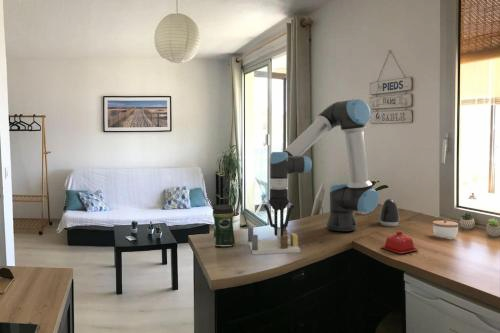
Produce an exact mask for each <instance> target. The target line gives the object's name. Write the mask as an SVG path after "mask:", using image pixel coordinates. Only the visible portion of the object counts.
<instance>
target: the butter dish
mask: <svg viewBox="0 0 500 333" xmlns="http://www.w3.org/2000/svg"><path fill="white" fill-rule="evenodd" d="M380 248H382V249H384V250H388V251H391V252H394V253H397V254H406V253H411V252H415V251H419V248H418V247H415V245H414V240H413V238H412V237H410V236H408V235H406V234H403V231H402V230H396V232H395V234H391V235H388V236H387V238H386V240H385V244H384V245H381V246H380Z"/></svg>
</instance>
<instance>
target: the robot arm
mask: <svg viewBox="0 0 500 333" xmlns="http://www.w3.org/2000/svg"><path fill="white" fill-rule="evenodd" d="M370 118H371V109H370V106H369V105H368V104H367V103H366V102H365V101H364V100H363V99H360V98H359V99H357V98H356V99H349V100H343V101H336V102H333V103H331V104H329V106H327V107H326V108H324V110H322V111H321V112H320V113H319V114H318V115H316V117H315V121H313V122H312V123H311V124H310V125H309V126H308V127H307V128H306V129H305V130H304V131H303V132H302V133H301V134H300V135H298V136H297V138H296V139H295V140H294V141H292V142H291V143H290V144H289V145H288V146H287V147H286V148H285V149H284V150H283V151H272V152H270V156H269V176H270V177H269V187H270V189H269V200H268V202H267V203H264V205H263V206H264V207H263V208H264V209H265V210H266V214H267V217H268V221H269V225H270V227H271V228H273V230H274V233H273V234H274V236H276V239H277V244H281V236H283V228H284V227H286V228H287V227H288V226H289V225H288V224H289V221H290V217H291V213H292V210H293V209H294V207H295V206H294V204H293V203H291V202H290V201H289V197H288V196H289V195H288V194H289V192H288V186H289V185H288V184H289V183H288V178H289V175H290V174H293V175H295V174H308V173H310V172H311V169H313V168H312V167H313V162H312V159H311V158H310V157H309V156H307V155H305V156H304V153H306V152H307V151H309V149H310V148H311V147H312V146H313V145H314V144H315V143H316V142H317V141H319V139H320V138H322V136H323V135H325V133H327V132H328V133H329V132H330V131H331V130H333V129H334V128H336V127H340V131H342V132H343V133H344V138H345V147H346V154H347V155H346V156H347V165H348V176H349V183H340V184H331V186H330V187H329V215H328V218H327V220H326V221H327V222H326V229H328V230H331V231H335V232H350V231H351V232H352V231H355V230H357V226H358V225H357V224H358V223H357V221H356V218H355V216H354V212H359V213H361V214H362V213H366V214H369V213H372V212H373V211H375V209H376V208H377V206H378V205H379V202H380V196H379V193H378V191H377V190H375V189H374V187H373V182H371V181H370V180H369V172H368V163H367V162H368V161H367V154H366V144H365V132H364V131H365V129H366V128H367V123H368V122H369V120H370ZM270 206H271V209H273V210H274V211H273V214H274V218H273V219H272V214H271V211H270ZM286 208H287V212H286V217H285V220H284V212H285V211H284V210H285V209H286ZM278 212H280V213H279V219H280V220H279V227H278Z"/></svg>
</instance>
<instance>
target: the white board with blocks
mask: <svg viewBox="0 0 500 333" xmlns="http://www.w3.org/2000/svg"><path fill="white" fill-rule="evenodd" d="M258 238H259V236H258V234H254V227H247V244H248V243H249V245H248V247H249V246H250V247H249V249H250V248H251V250H250V252H251V251H252V252H251V254H252V255H253V254H255V255H270V254H272V255H273V254H291V253H295V254H296V253H301V248H300V247H299V240H298V238H299V236H298V235H297V233H295V232H294V233H292V232H291V233H290V238H288V248H281V244H277V238H275V239H273V238H270V239H258Z"/></svg>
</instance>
